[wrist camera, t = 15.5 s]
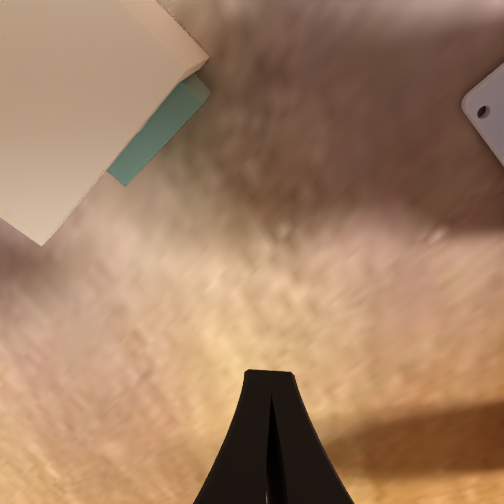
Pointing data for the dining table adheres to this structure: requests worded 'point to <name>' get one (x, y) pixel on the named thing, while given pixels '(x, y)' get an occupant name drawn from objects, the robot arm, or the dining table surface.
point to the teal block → (160, 127)
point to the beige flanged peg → (78, 97)
